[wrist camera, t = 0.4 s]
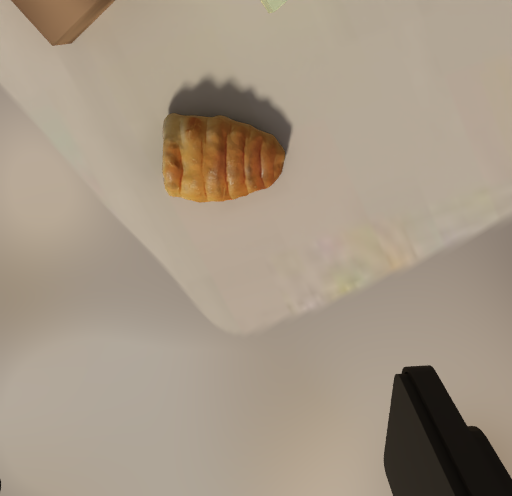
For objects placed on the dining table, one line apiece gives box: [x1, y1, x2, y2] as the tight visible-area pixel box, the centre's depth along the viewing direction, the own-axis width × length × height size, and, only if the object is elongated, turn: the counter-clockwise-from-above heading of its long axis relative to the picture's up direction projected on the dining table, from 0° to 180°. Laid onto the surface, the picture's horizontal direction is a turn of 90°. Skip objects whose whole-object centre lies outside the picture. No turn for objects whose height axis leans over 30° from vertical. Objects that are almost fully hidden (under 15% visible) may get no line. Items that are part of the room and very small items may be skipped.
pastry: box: [162, 113, 285, 202], centre depth 34 cm, size 9×7×4 cm
